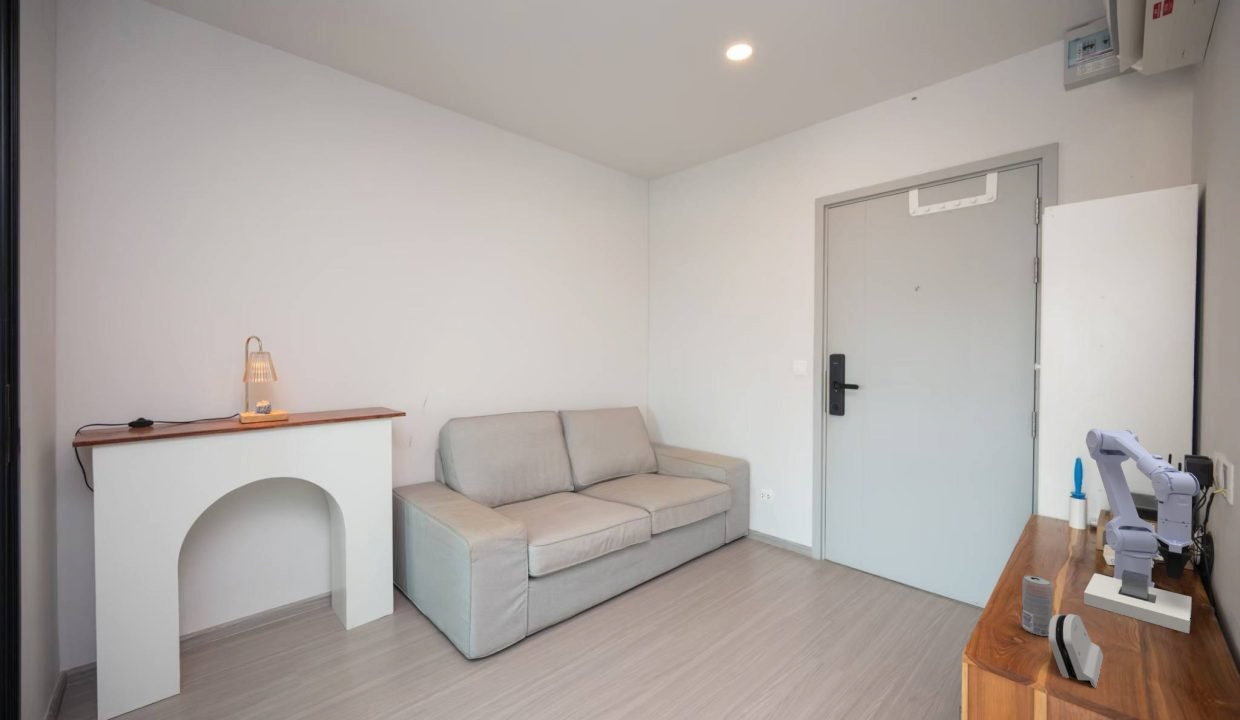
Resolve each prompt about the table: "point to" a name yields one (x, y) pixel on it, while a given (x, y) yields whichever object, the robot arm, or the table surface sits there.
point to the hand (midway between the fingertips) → (1173, 573)
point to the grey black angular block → (1074, 648)
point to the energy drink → (1036, 604)
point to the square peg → (1135, 585)
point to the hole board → (1140, 603)
